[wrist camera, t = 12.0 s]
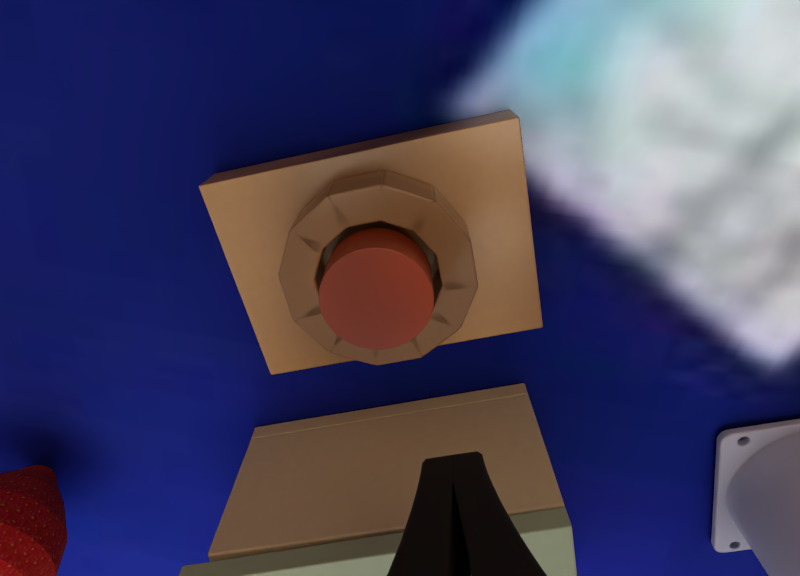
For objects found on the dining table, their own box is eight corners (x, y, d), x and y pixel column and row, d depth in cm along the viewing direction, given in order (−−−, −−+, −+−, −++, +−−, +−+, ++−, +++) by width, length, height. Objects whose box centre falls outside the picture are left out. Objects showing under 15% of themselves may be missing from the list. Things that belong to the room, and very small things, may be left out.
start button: (420, 217, 17) (421, 236, 16) (440, 313, 19) (443, 339, 17) (313, 239, 18) (303, 259, 16) (341, 331, 19) (335, 358, 18)
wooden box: (326, 597, 31) (306, 740, 24) (254, 426, 25) (206, 555, 19) (550, 568, 29) (587, 711, 23) (524, 382, 24) (564, 505, 18)
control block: (510, 109, 19) (531, 125, 16) (533, 307, 22) (555, 353, 19) (213, 173, 20) (177, 201, 17) (279, 352, 23) (259, 403, 20)
